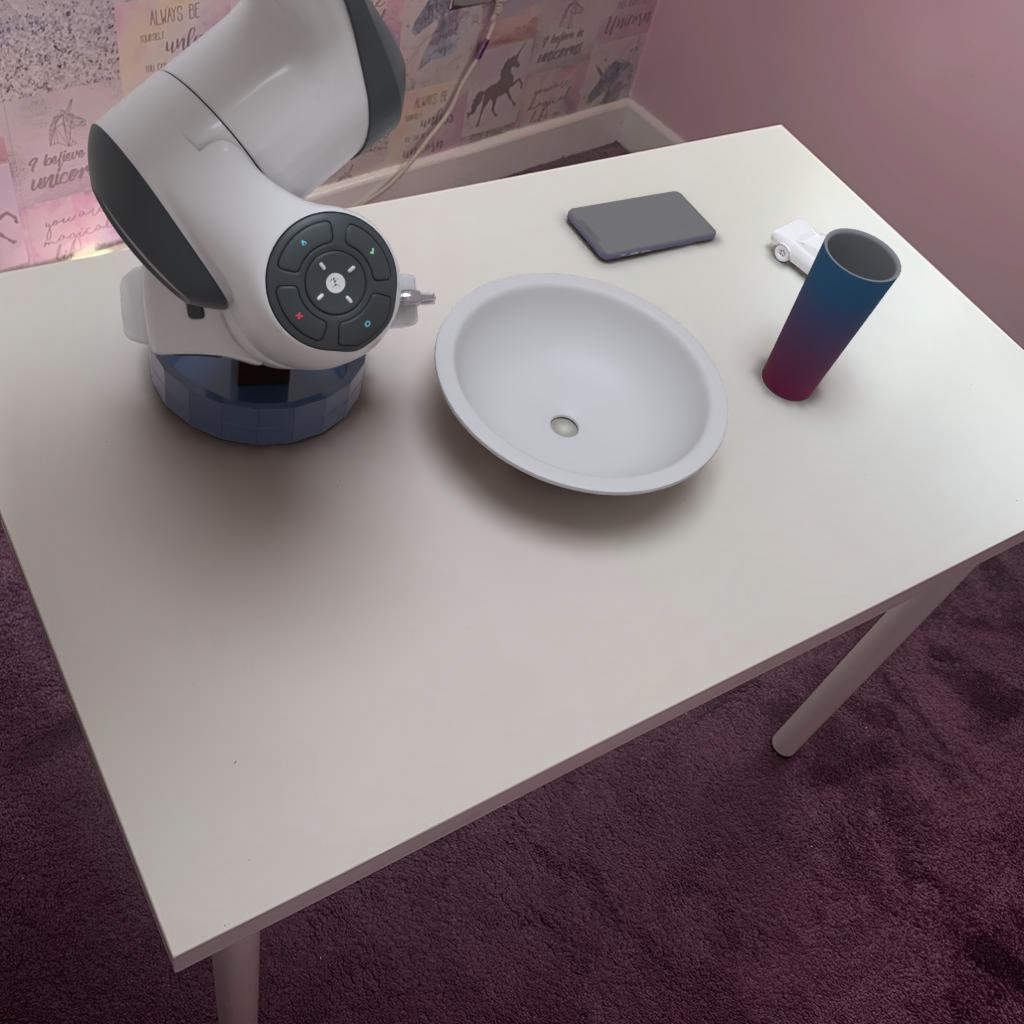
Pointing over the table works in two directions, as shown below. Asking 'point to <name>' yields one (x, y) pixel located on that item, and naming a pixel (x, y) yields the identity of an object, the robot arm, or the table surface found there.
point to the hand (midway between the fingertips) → (261, 309)
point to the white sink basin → (581, 383)
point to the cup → (829, 310)
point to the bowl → (255, 398)
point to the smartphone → (640, 224)
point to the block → (259, 374)
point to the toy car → (797, 244)
